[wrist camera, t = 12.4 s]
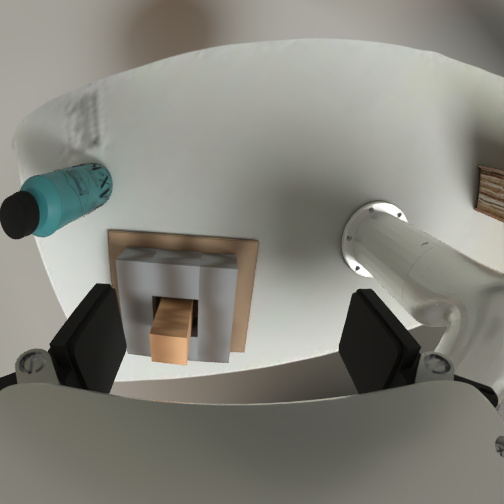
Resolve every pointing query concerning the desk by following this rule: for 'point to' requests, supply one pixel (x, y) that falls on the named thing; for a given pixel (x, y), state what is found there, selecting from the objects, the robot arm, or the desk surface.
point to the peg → (172, 331)
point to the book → (491, 193)
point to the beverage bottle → (55, 200)
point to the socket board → (199, 245)
